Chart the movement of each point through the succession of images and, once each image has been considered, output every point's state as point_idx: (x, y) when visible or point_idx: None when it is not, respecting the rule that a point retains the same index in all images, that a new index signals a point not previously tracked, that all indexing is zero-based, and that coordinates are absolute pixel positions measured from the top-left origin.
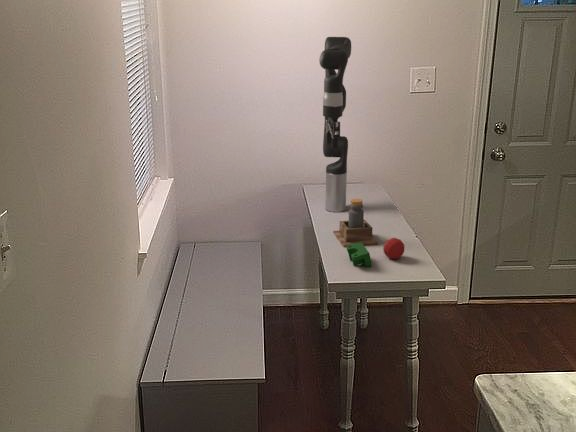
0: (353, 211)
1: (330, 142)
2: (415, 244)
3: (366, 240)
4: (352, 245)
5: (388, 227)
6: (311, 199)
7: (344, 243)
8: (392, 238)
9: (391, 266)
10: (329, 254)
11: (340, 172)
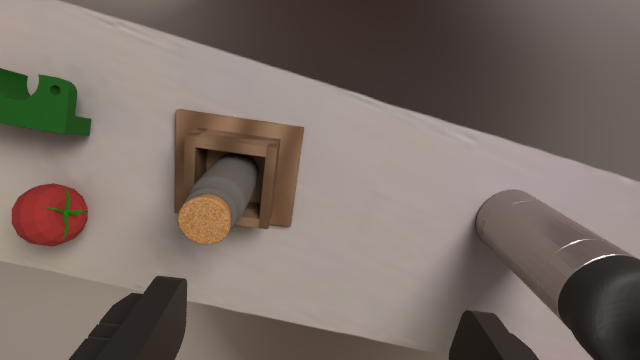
0: (199, 187)
1: (456, 352)
2: None
3: None
4: (59, 100)
5: (300, 285)
6: (634, 187)
7: (186, 116)
8: (32, 224)
9: (11, 173)
10: (126, 40)
11: (564, 302)
